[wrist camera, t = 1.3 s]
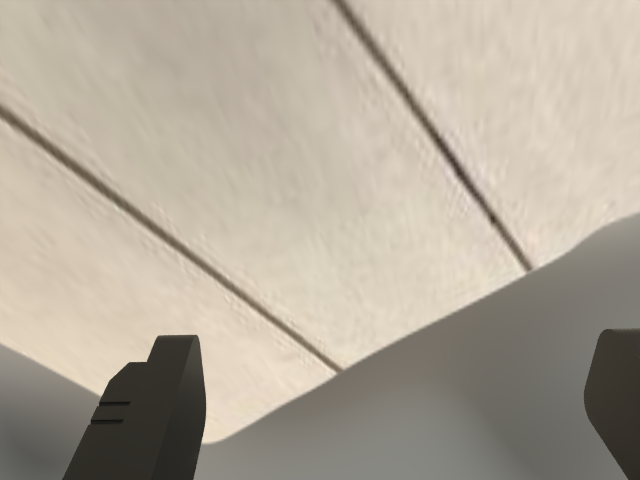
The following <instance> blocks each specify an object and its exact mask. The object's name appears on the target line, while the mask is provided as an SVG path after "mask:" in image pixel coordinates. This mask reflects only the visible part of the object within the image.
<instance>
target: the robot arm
mask: <svg viewBox="0 0 640 480" xmlns="http://www.w3.org/2000/svg"><path fill="white" fill-rule="evenodd" d="M584 404H585V409H586V413H587V416H588V418H589V420H590V422H591V423H592V425H593V426H594V428H595V429H596V431H597V432H598V434H599V435H600V437H601V439H602V440H603V442H604V443H605V445H606V446H607V448H608V449H609V451H610V452H611V454H612V455H613V457H614V458H615V460H616V461H617V463H618V464H619V466H620V467H621V469H622V470H623V472H624V474H625V475H626V476H627V478H628V480H640V329H606V330H604V331H603V332H602V333H601V334H600V336H599V339H598V342H597V346H596V349H595V353H594V356H593V360H592V364H591V367H590V371H589V375H588V378H587V382H586V385H585V390H584ZM205 419H206V393H205V385H204V376H203V367H202V358H201V349H200V342H199V338H198V336H197V335H162V336H158V337H157V338H156V340H155V343H154V345H153V348H152V350H151V353H150V355H149V358H148V360H147V362H129V363H128V364H127V365H126V366H125V367H124V368H123V369H122V370H121V371H119V372H118V373H117V374H116V375H115V376H114V377H113V378H112V379H111V380H110V381H109V383H108V385H107V387H106V389H105V391H104V393H103V395H102V397H101V400H100V402H99V406H97V408H96V410H95V412H94V414H93V416H92V418H91V424H90V425H88V427H87V429H86V431H85V433H84V435H83V437H82V439H81V442H80V444H79V446H78V448H77V450H76V452H75V454H74V456H73V458H72V461H71V462H70V464H69V467H68V469H67V471H66V473H65V475H64V477H63V479H62V480H193V479H194V474H195V469H196V464H197V460H198V455H199V451H200V446H201V441H202V437H203V432H204V427H205Z"/></svg>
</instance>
